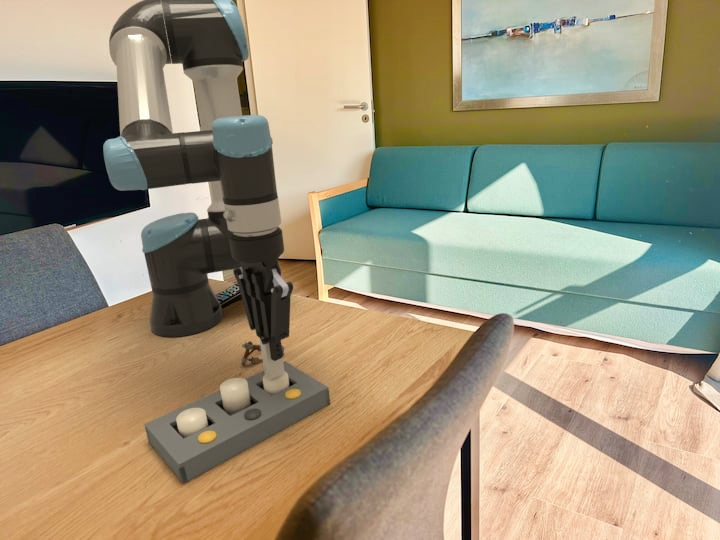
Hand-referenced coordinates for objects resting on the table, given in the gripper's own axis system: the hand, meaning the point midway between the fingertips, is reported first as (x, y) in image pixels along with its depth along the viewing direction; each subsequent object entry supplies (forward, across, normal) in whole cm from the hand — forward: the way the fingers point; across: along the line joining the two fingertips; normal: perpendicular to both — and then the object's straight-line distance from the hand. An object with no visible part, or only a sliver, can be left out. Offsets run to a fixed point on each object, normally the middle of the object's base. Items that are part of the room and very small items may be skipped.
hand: (274, 374), depth 81 cm
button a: (+4, 0, -14) cm, 15 cm away
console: (+5, +1, -7) cm, 8 cm away
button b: (+2, 0, -7) cm, 7 cm away
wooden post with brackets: (+5, -13, +5) cm, 15 cm away
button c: (+4, 0, 0) cm, 4 cm away
